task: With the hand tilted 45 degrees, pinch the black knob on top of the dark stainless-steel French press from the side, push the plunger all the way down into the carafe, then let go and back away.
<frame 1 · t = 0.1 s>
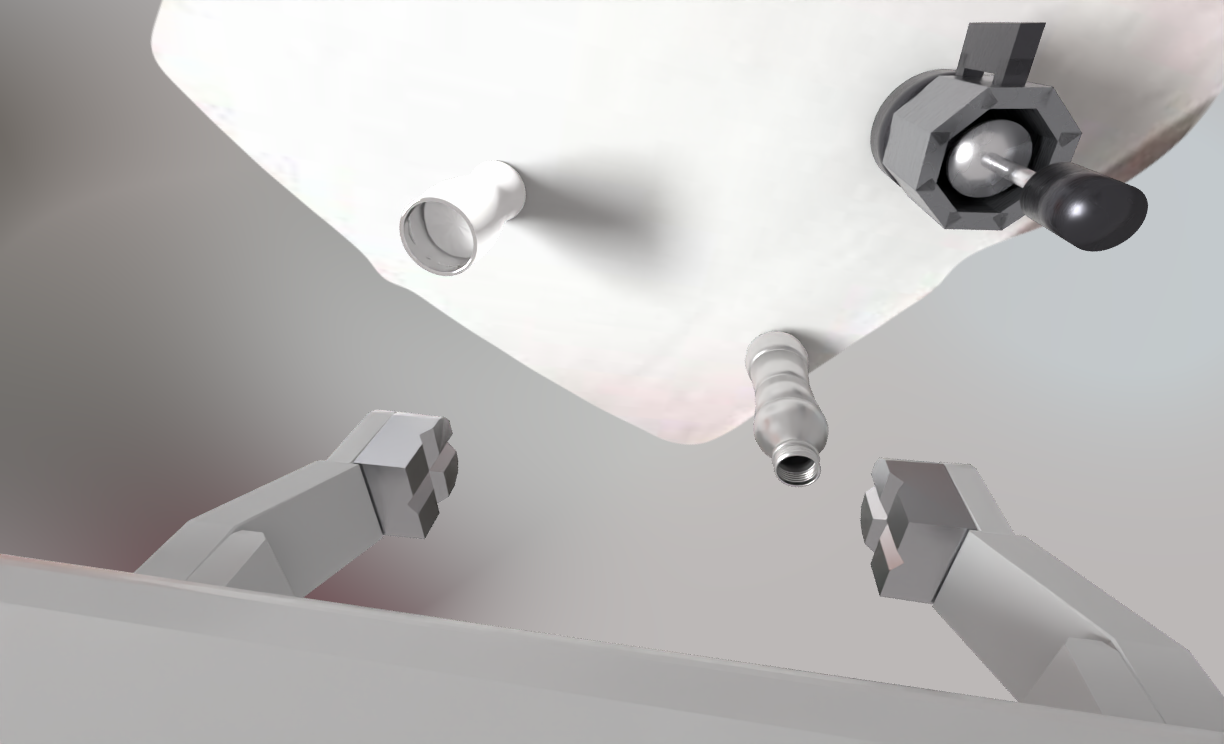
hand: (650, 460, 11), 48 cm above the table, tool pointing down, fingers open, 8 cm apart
press carafe: (927, 128, 49), on the table
plunger: (1035, 183, 32), point 20 cm above the table, slide at 0.0 cm
plastic bottle: (774, 349, 62), on the table
beer glass: (498, 190, 58), on the table
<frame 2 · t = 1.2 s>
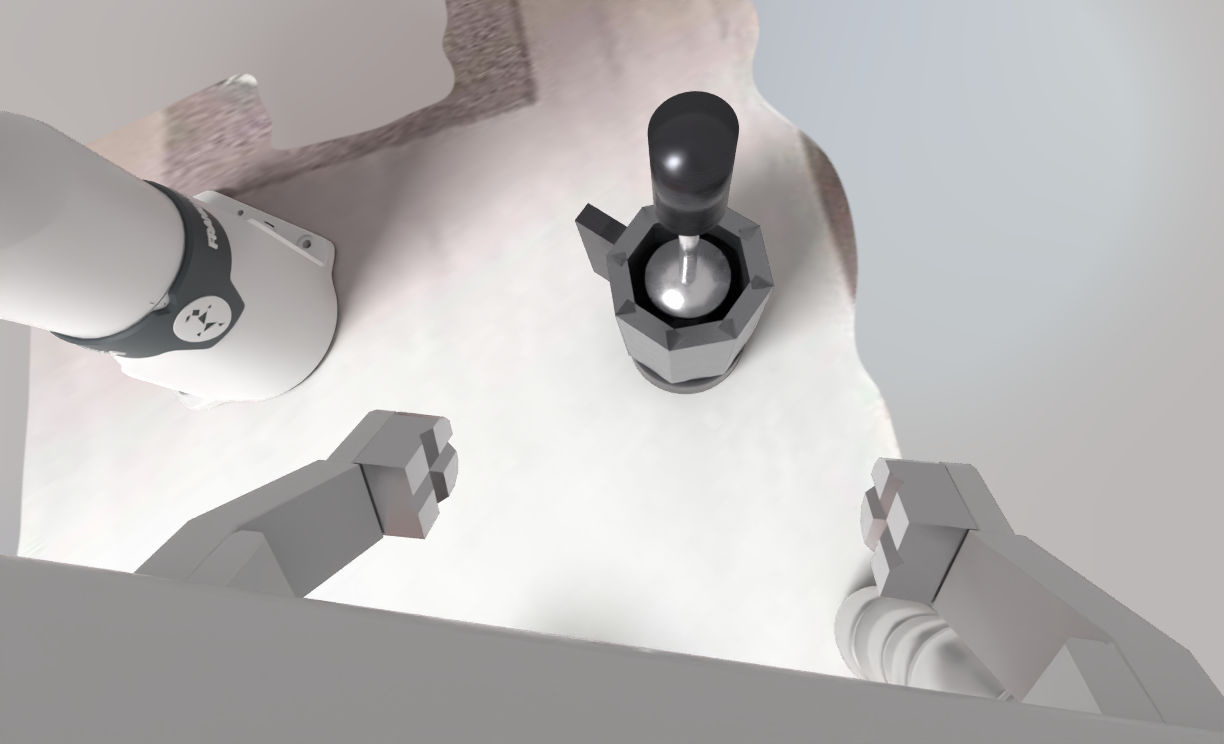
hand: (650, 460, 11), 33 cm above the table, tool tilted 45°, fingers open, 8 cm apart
press carafe: (685, 338, 45), on the table
plunger: (689, 224, 26), point 20 cm above the table, slide at 0.0 cm
plastic bottle: (874, 627, 39), on the table
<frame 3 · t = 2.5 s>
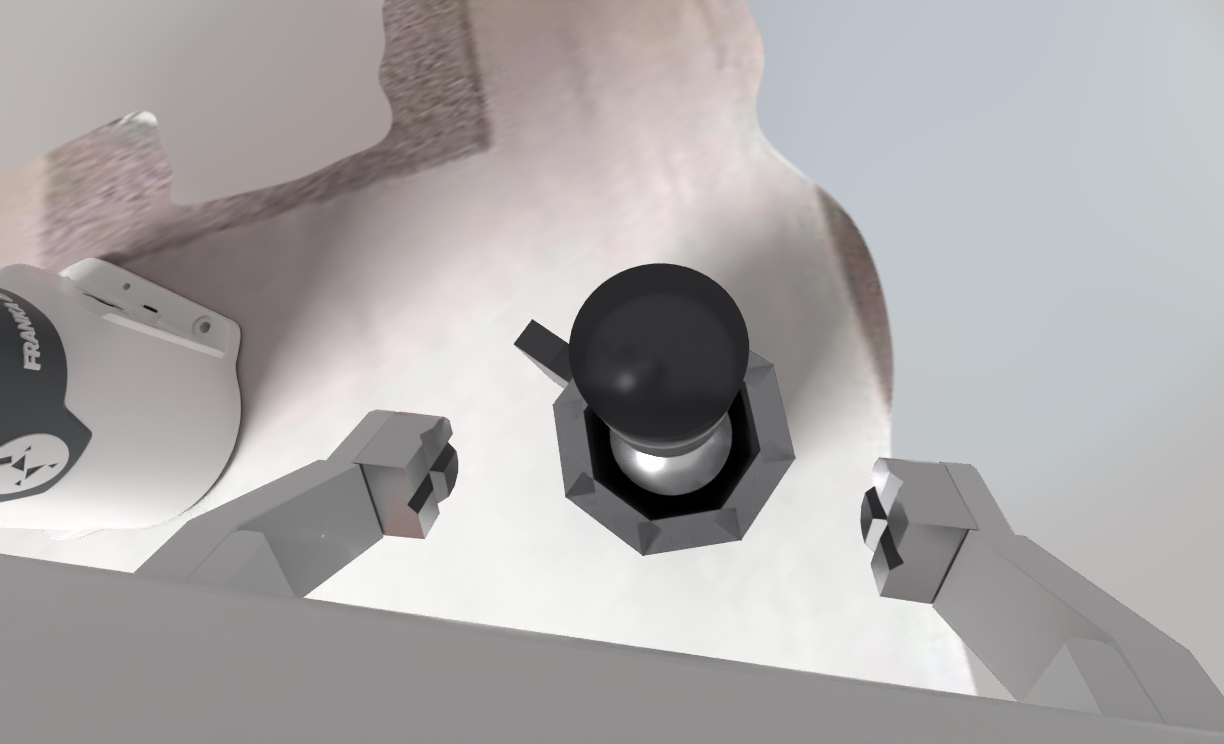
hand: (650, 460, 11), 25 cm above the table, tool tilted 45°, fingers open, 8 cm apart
press carafe: (673, 456, 36), on the table
plunger: (666, 408, 17), point 20 cm above the table, slide at 0.0 cm
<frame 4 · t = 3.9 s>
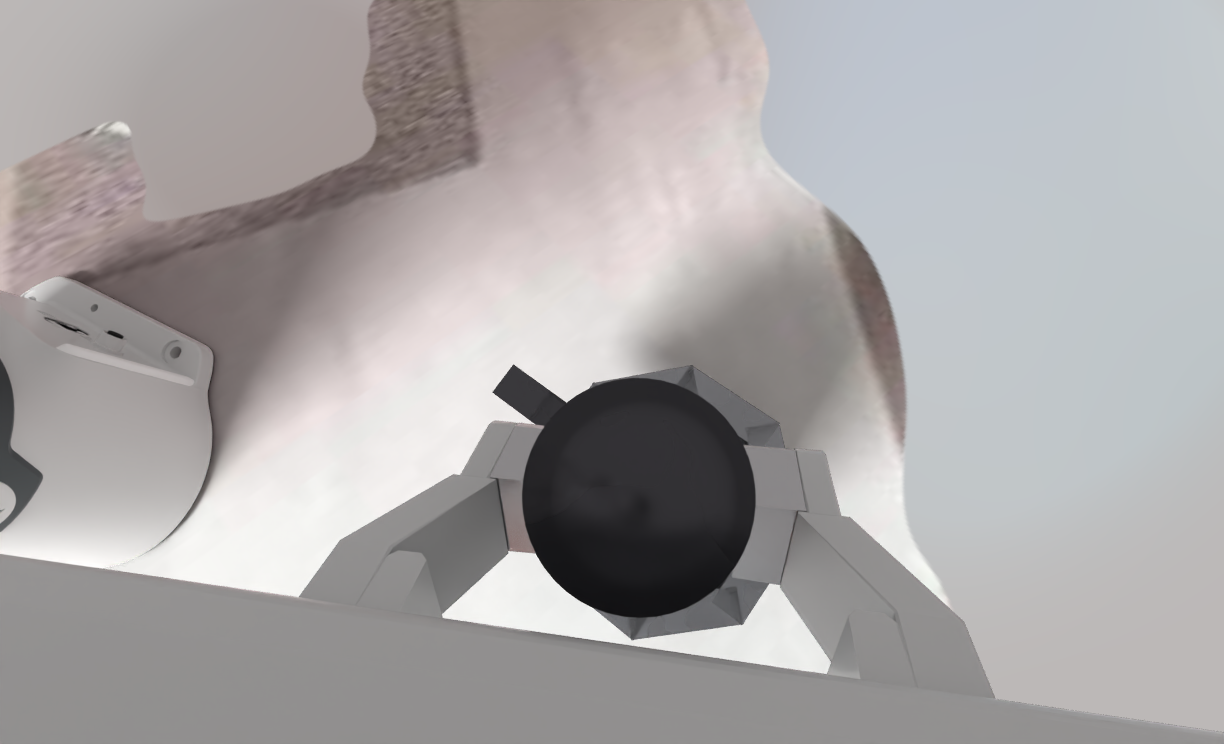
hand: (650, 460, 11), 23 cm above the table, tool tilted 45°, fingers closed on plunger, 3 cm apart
press carafe: (670, 497, 33), on the table
plunger: (656, 495, 14), point 19 cm above the table, slide at 0.0 cm, touching gripper
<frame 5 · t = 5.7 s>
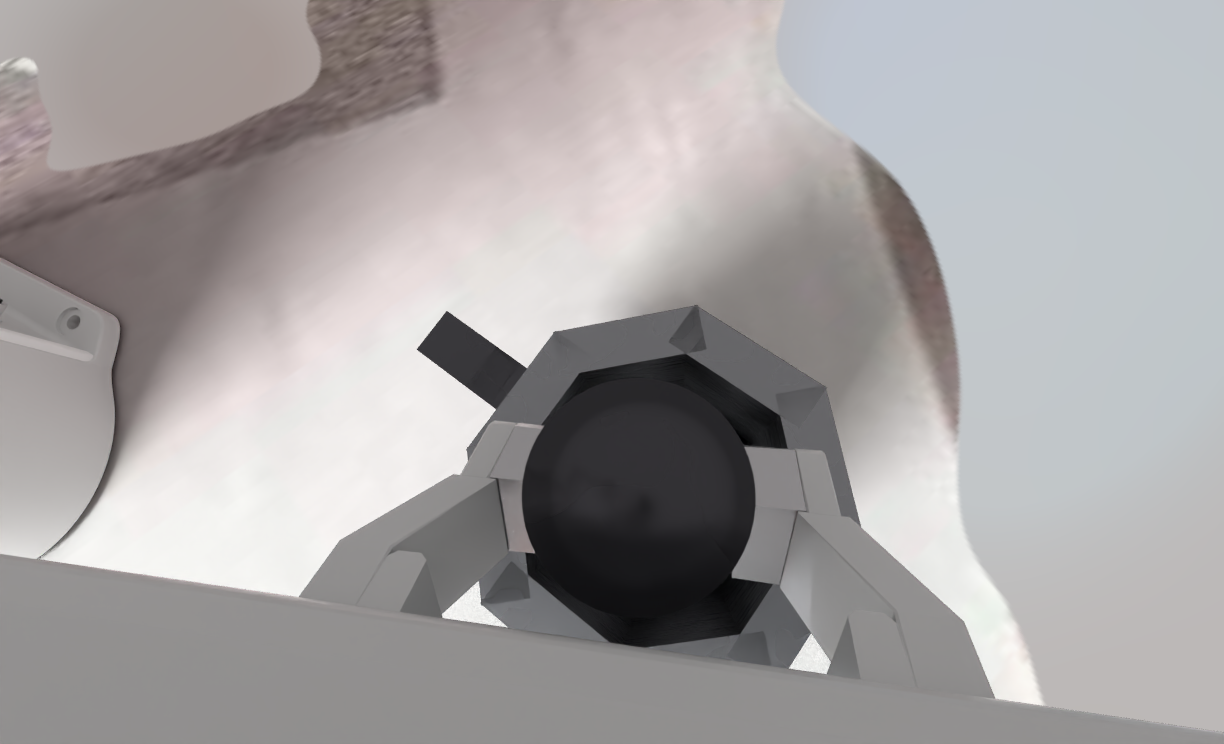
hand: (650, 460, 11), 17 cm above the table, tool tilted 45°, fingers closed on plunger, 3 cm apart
press carafe: (667, 496, 27), on the table
plunger: (656, 495, 14), point 13 cm above the table, slide at 6.6 cm, touching gripper
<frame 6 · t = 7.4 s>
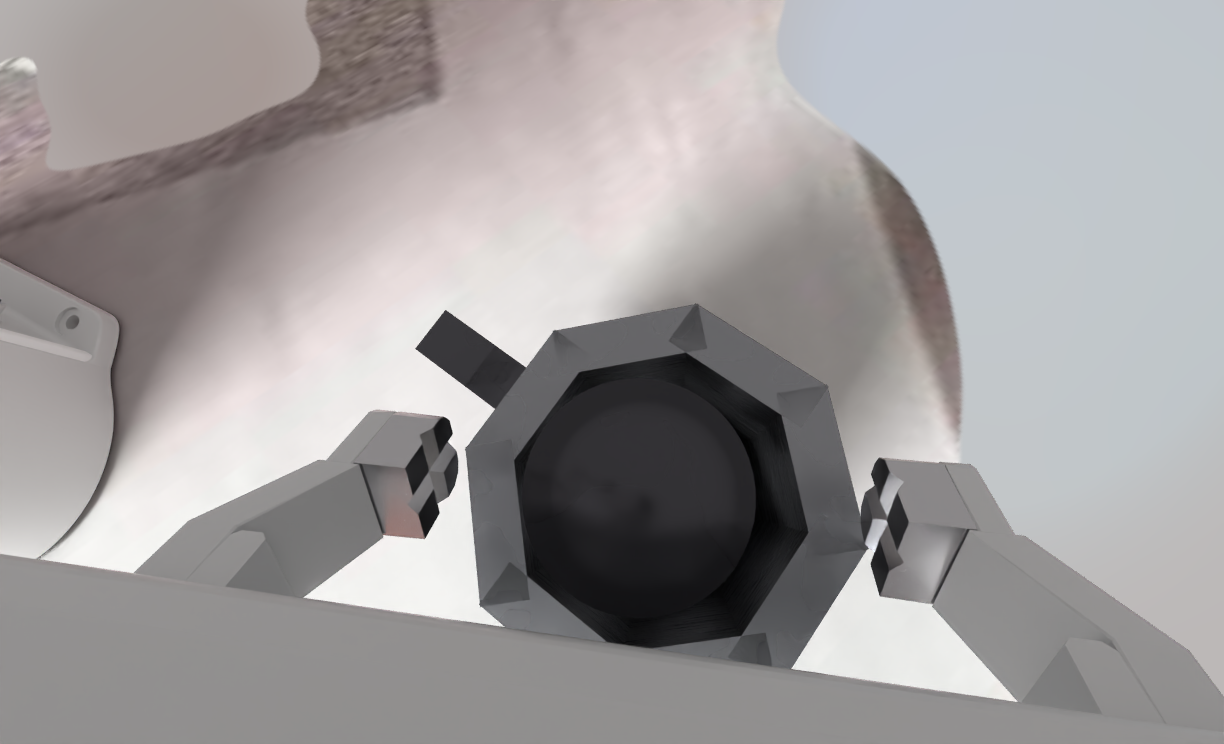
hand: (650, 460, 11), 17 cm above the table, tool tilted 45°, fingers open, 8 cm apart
press carafe: (667, 496, 27), on the table
plunger: (656, 495, 14), point 13 cm above the table, slide at 6.7 cm
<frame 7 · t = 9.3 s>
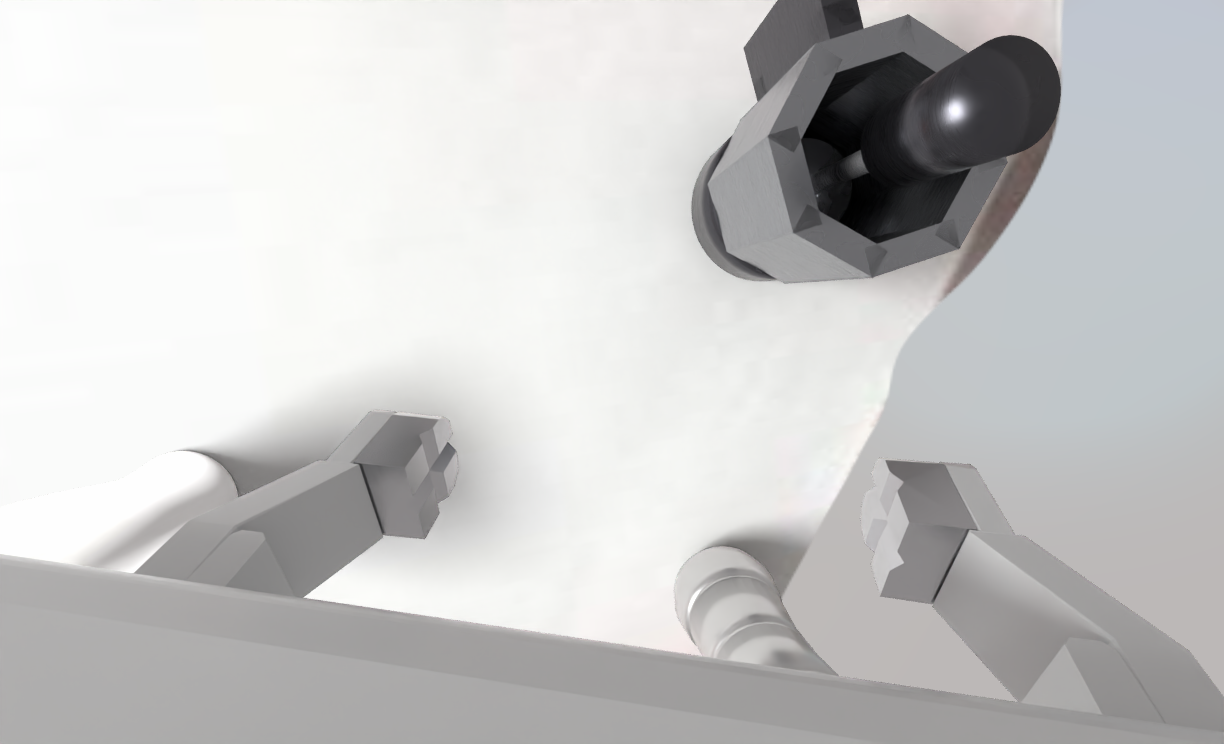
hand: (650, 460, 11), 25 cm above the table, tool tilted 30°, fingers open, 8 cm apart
press carafe: (762, 207, 35), on the table
plunger: (872, 157, 23), point 13 cm above the table, slide at 6.7 cm
plastic bottle: (714, 578, 39), on the table
beer glass: (190, 496, 35), on the table
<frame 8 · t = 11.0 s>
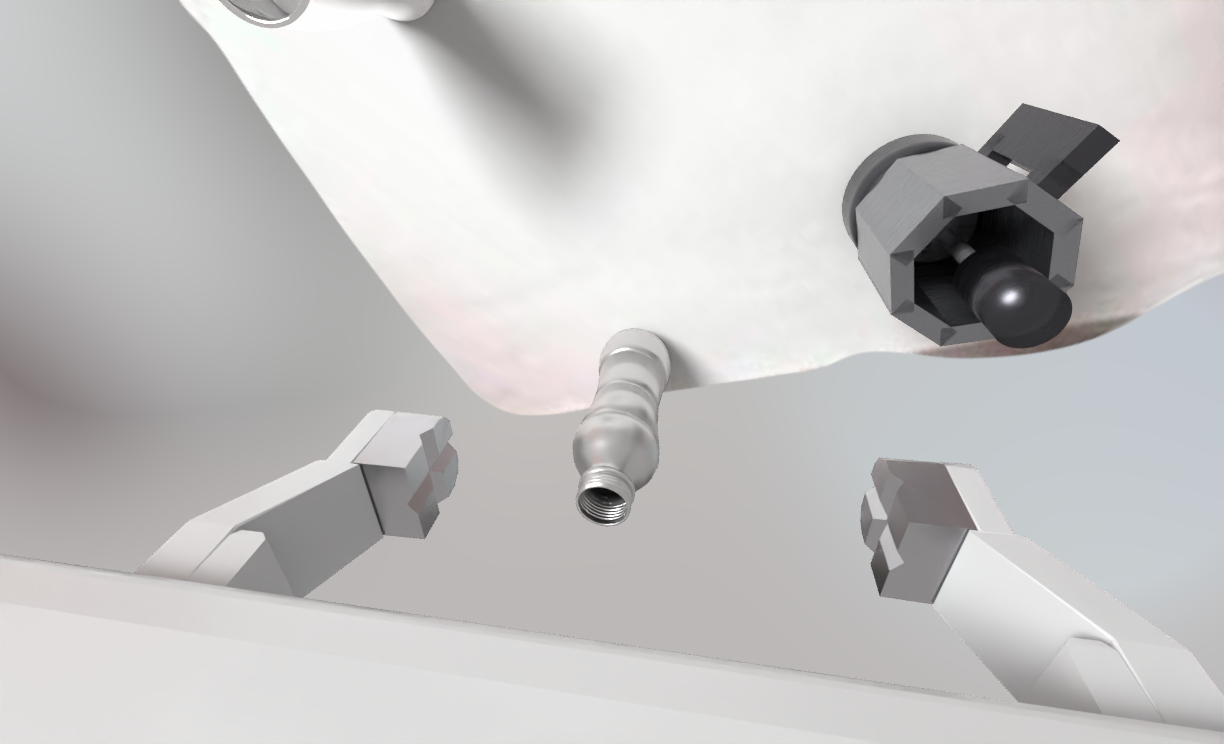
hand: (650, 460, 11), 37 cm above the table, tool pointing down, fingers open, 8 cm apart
press carafe: (907, 199, 42), on the table
plunger: (972, 261, 31), point 13 cm above the table, slide at 6.7 cm
plastic bottle: (638, 350, 53), on the table
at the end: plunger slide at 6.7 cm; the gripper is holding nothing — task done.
